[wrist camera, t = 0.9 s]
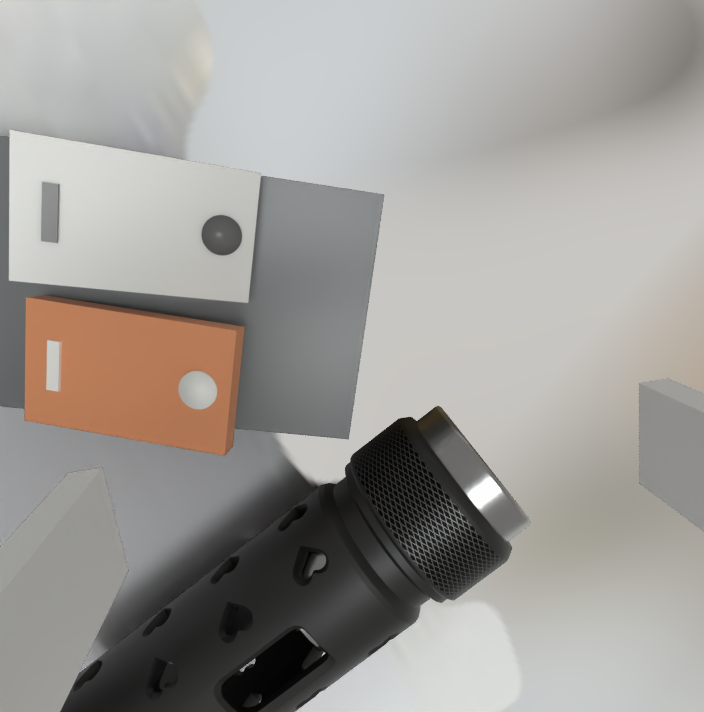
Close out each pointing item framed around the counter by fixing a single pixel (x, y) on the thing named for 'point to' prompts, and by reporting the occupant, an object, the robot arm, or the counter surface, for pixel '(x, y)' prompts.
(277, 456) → the counter surface
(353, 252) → the switch module
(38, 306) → the orange slotted plate
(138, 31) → the counter surface
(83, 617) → the robot arm
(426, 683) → the counter surface
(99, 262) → the light grey flat plate
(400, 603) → the muzzle brake
